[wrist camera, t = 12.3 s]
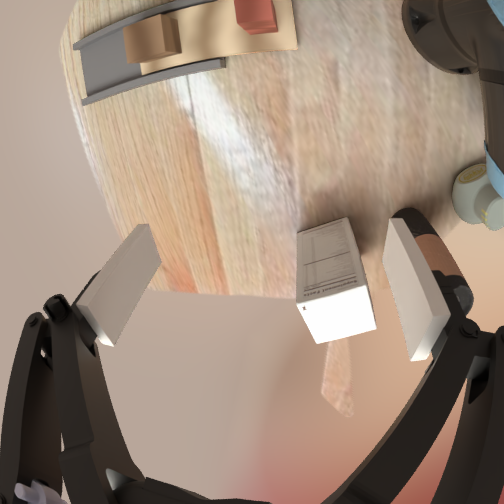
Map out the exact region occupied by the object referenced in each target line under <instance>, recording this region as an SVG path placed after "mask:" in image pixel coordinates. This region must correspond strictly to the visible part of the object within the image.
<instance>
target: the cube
mask: <svg viewBox="0 0 504 504" xmlns="http://www.w3.org/2000/svg"><path fill="white" fill-rule="evenodd" d="M123 35H124V43H125V50H126V57H127V64H129V63H148V62H152V61H155V60H158V59H162V58H165V57H169V56H173V55H177V54H181V53H182V49H181V42H180V35H179V27H178V20H176V19H174V18H171V17H168V16H165V15H162V14H159V15H156V16H153V17H150V18H147V19H144V20H142V21H139V22H136V23H134V24H131V25H129V26H126V27H124V28H123Z"/></svg>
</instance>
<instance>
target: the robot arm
mask: <svg viewBox="0 0 504 504" xmlns="http://www.w3.org/2000/svg"><path fill="white" fill-rule="evenodd" d="M402 20H403V24H404V28H405V30H406V33H407V35H408V37H409V39H410V41H411V42H412V44H413V45H414V47H415V48H416V50H417V51H418V52H419V53H420V54H421V55H422V56H423V57H424V58H425V59H426V60H427V61H428V62H429V63H431V64H432V65H433V66H435V67H436V68H438V69H440V70H442V71H445V72H448V73H452V74H459V75H469V74H473V73H476V72H478V71H479V76H480V84H481V91H482V100H483V110H484V125H485V140H484V148H485V152H486V170H487V175H488V178H489V180H490V181H491V184H492V186H493V188H494V189H495V190H496V192H497V193H498V194H499V195H500V196H501V197H502V198H503V199H504V0H404V2H403V5H402ZM161 262H162V261H161V258H160V256H159V253H158V250H157V247H156V244H155V241H154V238H153V235H152V232H151V229H150V226H149V224H138V225H137V226H136V227H135V229H134V230H133V231H132V232H131V233H130V234H129V236H128V237H127V238H126V239H125V240H124V242H123V243H122V244H121V245H120V247H119V248H118V249H117V250H116V251H115V253H114V254H113V255H112V257H111V258H110V259H109V260H108V262H107V263H106V264H105V266H104V267H103V268H102V269H101V270H100V271H99V272H97V273H96V274H95V275H94V276H93V277H92V278H91V279H90V281H89V282H88V284H87V285H86V286H85V287H84V290H82V291H81V293H80V294H79V295H78V297H77V298H76V300H75V301H74V302H73V304H72V305H71V306H70V305H69V303H68V302H67V300H66V299H65V297H64V295H62V294H57V295H54V296H52V297H51V298H49V299H48V300H47V301H46V303H45V304H44V307H43V310H44V311H45V313H46V314H47V315H48V317H49V319H45V318H44V316H43V315H42V313H40V312H36V313H34V314H31V315H30V316H29V318H28V319H27V320H26V322H25V325H24V328H23V331H22V334H21V337H20V341H19V344H18V348H17V351H16V355H15V359H14V363H13V367H12V371H11V376H10V380H9V385H8V391H7V396H6V402H5V408H4V415H3V423H2V434H1V446H0V447H1V448H0V504H67V502H66V501H64V500H62V499H61V495H62V483H63V480H64V483H65V486H66V490H67V493H68V496H69V499H70V502H71V504H272V503H270V502H263V501H252V500H244V499H237V498H236V499H218V500H210V499H208V498H206V497H204V496H201V495H199V494H197V493H195V492H191V491H188V490H186V489H183V488H180V487H177V486H174V485H171V484H168V483H164V482H161V481H157V480H154V479H151V478H148V477H146V479H145V477H144V476H143V474H142V472H141V471H140V470H139V468H138V467H137V466H136V465H135V464H134V462H133V461H132V459H131V457H130V454H129V452H128V449H127V447H126V444H125V441H124V439H123V436H122V433H121V430H120V428H119V424H118V422H117V419H116V416H115V412H114V409H113V406H112V403H111V399H110V396H109V392H108V389H107V385H106V381H105V377H104V374H103V369H102V365H101V361H100V356H99V352H98V347H97V344H96V343H95V339H96V337H98V338H99V339H100V341H101V342H102V344H106V345H110V346H115V344H116V342H117V340H118V338H119V336H120V334H121V332H122V331H123V329H124V327H125V325H126V323H127V321H128V320H129V318H130V316H131V314H132V312H133V310H134V309H135V307H136V305H137V303H138V301H139V300H140V298H141V296H142V295H143V293H144V291H145V289H146V288H147V286H148V284H149V283H150V281H151V279H152V277H153V276H154V274H155V272H156V271H157V269H158V267H159V266H160V264H161ZM382 263H383V266H384V269H385V272H386V275H387V278H388V281H389V284H390V287H391V290H392V294H393V296H394V300H395V304H396V307H397V310H398V314H399V318H400V321H401V325H402V329H403V333H404V337H405V341H406V345H407V349H408V353H409V357H410V361H417V360H425V359H426V358H427V357H428V355H429V354H430V352H432V355H433V361H432V362H431V364H430V365H429V366H428V368H427V370H426V371H425V375H424V376H423V378H422V380H421V381H420V383H419V385H418V386H417V388H416V390H415V391H414V393H413V395H412V396H411V398H410V399H409V401H408V402H407V404H406V405H405V407H404V408H403V410H402V411H401V413H400V414H399V416H398V417H397V418H396V420H395V421H394V423H393V424H392V426H391V427H390V428H389V430H388V431H387V432H386V434H385V435H384V436H383V437H382V439H381V440H380V441H379V443H378V444H377V445H376V446H375V448H374V449H373V450H372V451H371V453H370V454H369V455H368V456H367V457H366V458H365V460H364V461H363V462H362V463H361V464H360V465H359V467H358V468H357V469H356V470H355V471H354V472H353V473H352V474H351V475H350V476H349V477H348V479H347V480H346V481H345V482H344V483H343V484H342V485H341V486H340V487H339V488H338V489H337V490H336V491H335V492H334V493H332V494H331V495H330V496H329V497H328V498H327V499H325V500H324V501H323V502H322V503H321V504H390V503H391V502H392V501H393V500H394V498H395V497H396V496H397V495H398V494H399V492H400V491H401V490H402V488H403V487H404V486H405V485H406V483H407V482H408V480H409V479H410V478H411V476H412V475H413V474H414V472H415V471H416V469H417V468H418V466H419V465H420V463H421V462H422V460H423V459H424V457H425V456H426V454H427V453H428V451H429V450H430V448H431V446H432V445H433V443H434V441H435V440H436V438H437V436H438V434H439V433H440V431H441V429H442V427H443V425H444V424H445V422H446V420H447V418H448V416H449V414H450V412H451V410H452V408H453V406H454V404H455V402H456V400H457V398H458V395H459V393H460V391H461V389H462V387H463V384H464V382H465V380H466V378H467V386H466V392H465V397H464V402H463V407H462V411H461V416H460V420H459V424H458V428H457V432H456V436H455V439H454V443H453V446H452V449H451V452H450V456H449V459H448V462H447V464H446V467H445V470H444V473H443V475H442V478H441V480H440V483H439V486H438V488H437V490H436V493H435V495H434V497H433V499H432V502H431V504H498V501H499V498H500V495H501V492H502V488H503V486H504V326H501V327H499V328H498V330H497V331H496V333H490V332H484V331H480V328H479V326H478V325H477V324H476V323H475V322H474V321H473V320H471V319H468V318H466V316H465V314H464V312H463V309H462V307H461V305H460V303H459V301H458V298H457V296H456V294H454V293H455V292H454V290H453V288H452V287H451V284H450V282H449V280H448V278H447V277H446V276H445V275H444V274H443V273H442V272H441V271H440V270H430V268H429V266H428V264H427V262H426V260H425V258H424V256H423V254H422V252H421V250H420V248H419V246H418V245H417V243H416V241H415V239H414V237H413V236H412V234H411V232H410V230H409V229H408V227H407V225H406V223H405V222H404V220H403V218H389V224H388V230H387V236H386V242H385V248H384V253H383V259H382ZM41 349H42V350H43V351H44V353H45V357H43V356H42V355H41ZM61 433H62V438H63V443H64V451H62V452H61ZM62 476H63V480H62Z"/></svg>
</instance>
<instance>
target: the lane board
mask: <svg viewBox="0 0 504 504" xmlns="http://www.w3.org/2000/svg"><path fill="white" fill-rule="evenodd" d="M215 1H217V0H176V1H173V2H170V3H166V4H163V5H160V6H157V7H154V8H151V9H148V10H146V11H143V12H140V13H138V14H135V15H133V16H130V17H128V18H125V19H123V20H121V21H118V22H116V23H114V24H112V25H109V26H107V27H105V28H103V29H101V30H99V31H97V32H95V33H93V34H91V35H89V36H87V37H85V38H83V39H81V40H80V41H78V42H76V43H74V44H73V50H80V53H81V60H82V67H83V74H84V80H85V85H86V91H87V96H88V97H87V98H84V99H82V105H83V106H85V105H88V104H92V103H94V102H97V101H100V100H102V99H105V98H108V97H111V96H113V95H116V94H119V93H122V92H125V91H128V90H131V89H135V88H138V87H141V86H145V85H148V84H152V83H155V82H159V81H163V80H167V79H171V78H175V77H179V76H184V75H188V74H193V73H198V72H203V71H209V70H215V69H221V68H226V65H225V57H220V58H214V59H208V60H203V61H198V62H193V63H189V64H184V65H180V66H176V67H172V68H168V69H164V70H160V71H157V72H153V73H150V74H146V75H142V72H141V66H140V63H129V64H127V57H126V50H125V43H124V35H123V28H124V27H126V26H129V25H131V24H134V23H136V22H139V21H142V20H144V19H147V18H150V17H153V16H156V15H159V14H162V15H164V14H167V13H170V12H174V11H177V10H181V9H185V8H188V7H192V6H196V5H201V4H205V3H210V2H215Z"/></svg>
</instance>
